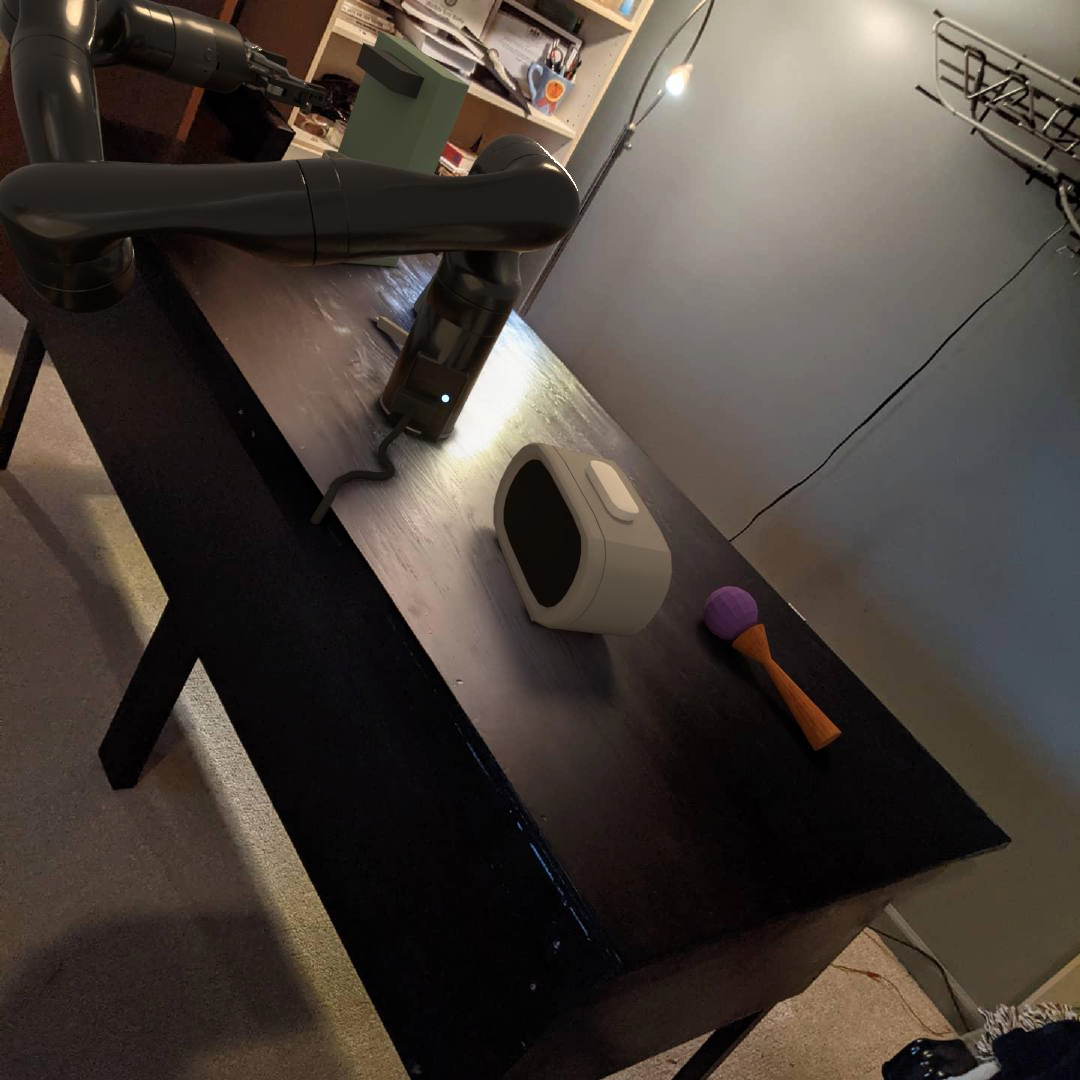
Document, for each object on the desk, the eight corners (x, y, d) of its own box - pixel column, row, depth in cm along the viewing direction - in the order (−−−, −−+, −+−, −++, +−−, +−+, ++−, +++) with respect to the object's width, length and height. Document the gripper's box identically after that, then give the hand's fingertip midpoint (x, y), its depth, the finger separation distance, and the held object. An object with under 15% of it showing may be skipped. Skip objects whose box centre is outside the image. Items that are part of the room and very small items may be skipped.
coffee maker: (319, 260, 124) (392, 57, 109) (263, 211, 128) (326, 9, 113) (395, 266, 137) (470, 85, 122) (342, 221, 141) (407, 41, 126)
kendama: (826, 734, 83) (709, 581, 92) (793, 764, 87) (684, 613, 96) (862, 718, 86) (745, 571, 96) (828, 747, 90) (720, 603, 100)
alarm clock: (478, 512, 92) (534, 412, 85) (551, 526, 97) (608, 433, 90) (537, 655, 78) (610, 549, 71) (618, 663, 83) (693, 564, 76)
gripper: (152, 54, 101) (263, 84, 114) (220, 111, 97) (328, 136, 110) (166, -12, 98) (279, 26, 111) (238, 44, 93) (347, 78, 106)
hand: (303, 81), depth 110 cm, fingers open, 8 cm apart
